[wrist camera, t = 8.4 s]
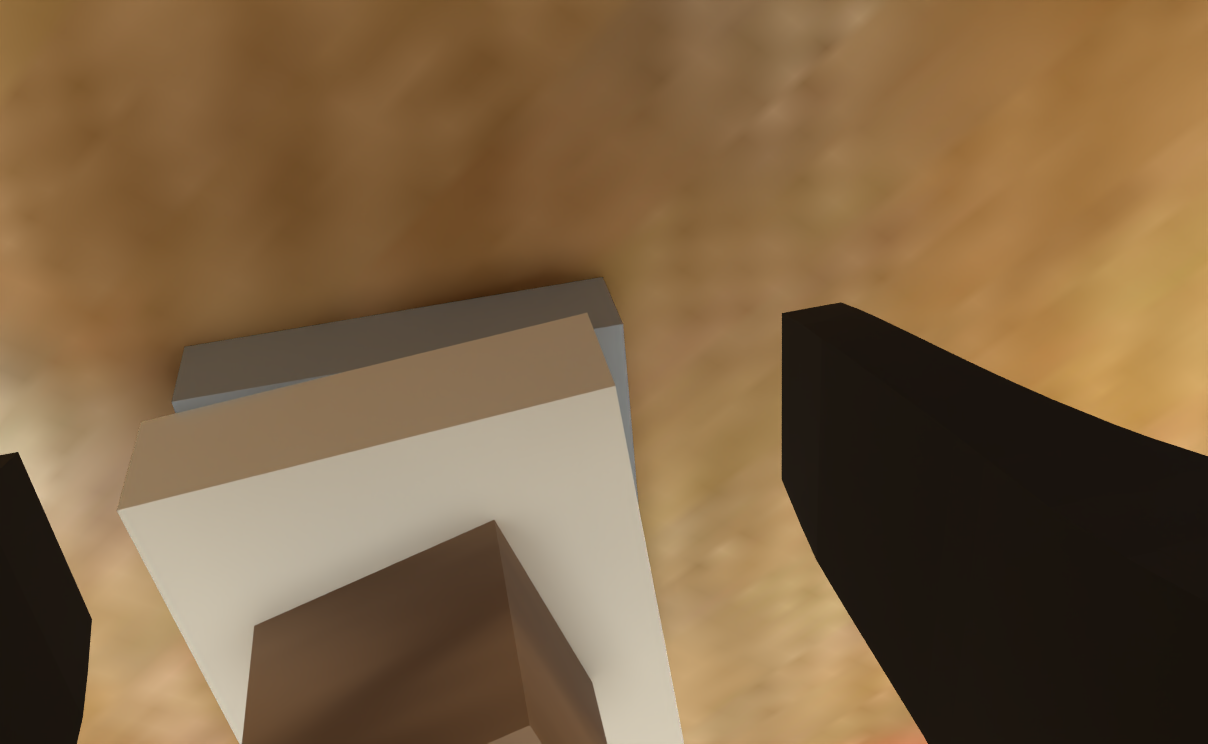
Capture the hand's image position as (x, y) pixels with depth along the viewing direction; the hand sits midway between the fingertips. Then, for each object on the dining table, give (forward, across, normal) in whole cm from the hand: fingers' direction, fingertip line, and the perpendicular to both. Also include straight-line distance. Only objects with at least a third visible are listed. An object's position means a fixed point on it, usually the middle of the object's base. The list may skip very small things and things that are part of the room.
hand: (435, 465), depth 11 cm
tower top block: (+9, +1, +9) cm, 12 cm away
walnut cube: (+6, +1, +8) cm, 10 cm away
